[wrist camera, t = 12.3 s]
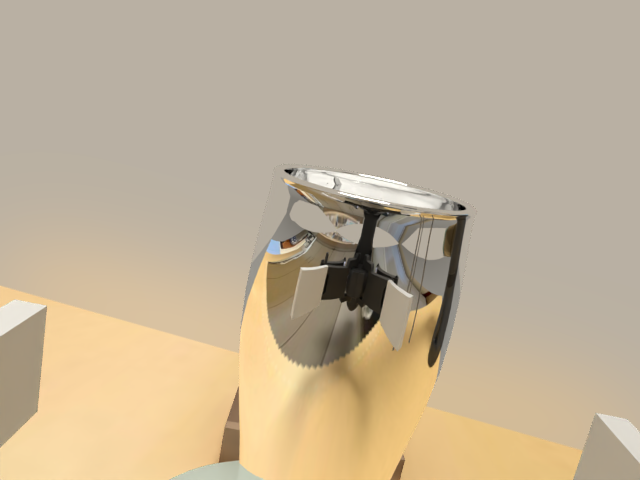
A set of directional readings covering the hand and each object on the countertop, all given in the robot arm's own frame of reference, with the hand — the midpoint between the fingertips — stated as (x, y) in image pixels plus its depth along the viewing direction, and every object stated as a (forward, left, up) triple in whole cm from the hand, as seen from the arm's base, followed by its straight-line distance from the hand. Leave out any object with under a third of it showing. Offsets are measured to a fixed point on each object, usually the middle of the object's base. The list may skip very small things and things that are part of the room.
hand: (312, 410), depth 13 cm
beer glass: (-1, -6, -10) cm, 12 cm away
